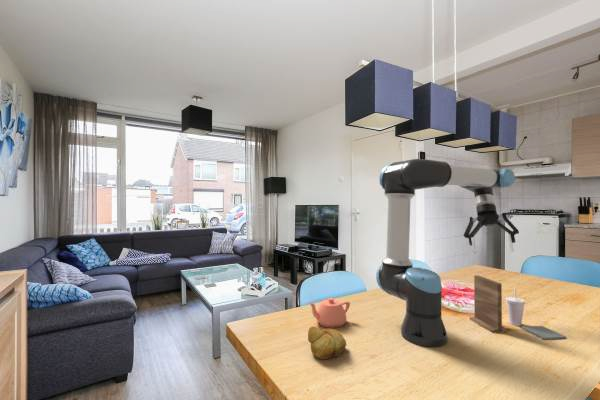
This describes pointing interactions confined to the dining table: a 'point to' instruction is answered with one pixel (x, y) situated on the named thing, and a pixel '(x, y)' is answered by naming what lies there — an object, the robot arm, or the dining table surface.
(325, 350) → the bread roll
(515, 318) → the smoothie
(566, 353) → the dining table surface
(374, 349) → the dining table surface
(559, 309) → the dining table surface
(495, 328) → the screen
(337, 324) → the teapot
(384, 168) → the robot arm
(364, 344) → the dining table surface
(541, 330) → the coaster
